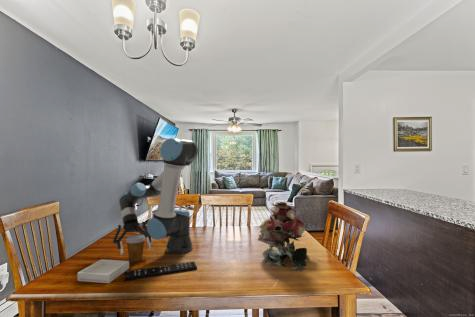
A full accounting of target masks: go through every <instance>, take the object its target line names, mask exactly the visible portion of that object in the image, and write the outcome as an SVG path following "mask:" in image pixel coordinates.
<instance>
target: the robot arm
mask: <svg viewBox="0 0 475 317" xmlns="http://www.w3.org/2000/svg"><path fill="white" fill-rule="evenodd" d="M198 153H199V148H198V145H197V144H196V143H195V141H193V140H191V139H183V138H178V137H177V138H176V137H175V138H174V137H173V138H172V137H171V138H170V137H169V138H167V139H166V140H164V141H163V142H162V143H161V145H160V150H159V154H160V155H161V158H162V163H163V164H164V166H165V167H164V170H163V171H162V172H161V173H160V174H158V176H157V177H156V178H154V180H153V181H152V182H150V184H146V185H145V184H144V183H142V182H136V183H135V184H133V185H132V186H131V187H130V189H129V190H128V192H124V193H122V194H120V196H119V197H118V199H119V202H118V203H119V208H120V212H121V218H122V224H123V225H121V224H118V225H117V231H116V233H115V235H114V238H113V241H112V244H116V246H117V250H120V255H121V256H123V255H124V247H123V241H122V240H123V239H124V238H125V237H126V235H127V234H128V233H135V232H136V233H139V234H141V235H144V236H145V240H146V241H145V242H146V246H147V249H148V251H149V250H151V248H152V246H151V244H152V239H153V240H156V241H158V240H163V239H165V238H168V239H167V242H166V243H167V244H166V247H165V251H166V252H167V253H169V254H171V255H172V254H174V255H176V254H177V255H178V254H180V255H181V254H184V253H188V252H190V251H192V250H193V247H194V246H193V242H192V239H191V235H190V231H191V229H190V228H191V227H190V222H191V220H190V217H191V216H190V211H189V210H187V209H176V208H175V206H176V202H177V196H178V192H179V191H178V190H179V185H180V179H181V175H182V171H183V170H184V169H185V167H188V166H190V165H191V164H192V163H193V162H194V161H195V160H196V158H198ZM158 196H159V200H158V203H157V204H158V205H157V209H156V210H154V212H153V216H152V217H150V218H149V219H148V220H147V222H146V223H147V224H146V223H145V221H142V222H139V221H138V216H137V211H136V206H135V204H136V203H137V202H138V201H139V200H142V199H148V198H153V197H154V198H155V197H158ZM122 230H124V231H123V232H122V234H121V233H120V232H121V231H122ZM119 234H121V235H120V236H119ZM151 238H152V239H151Z"/></svg>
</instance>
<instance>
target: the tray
mask: <svg viewBox="0 0 475 317" xmlns="http://www.w3.org/2000/svg"><path fill="white" fill-rule="evenodd" d="M129 269H130V261H129V260H118V259H117V260H115V259H99V260H98V261H96V262H93V263H92V264H91V265H89V266H87V267H85V268H84V269H82V270H80V271H78V272H77V282H88V283H89V282H90V283H102V284H109V283H111V282H113V281H114V280H115V279H117V278H118V277H119V276H121V275H122V274H123V273H125V272H127V271H128V270H129Z"/></svg>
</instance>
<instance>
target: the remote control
mask: <svg viewBox="0 0 475 317" xmlns="http://www.w3.org/2000/svg"><path fill="white" fill-rule="evenodd" d="M196 270H198V266H197V265H196V262H195V261H189V262H182V263H176V264H174V263H173V264H169V265H161V266H155V267H148V268H147V267H146V268H141V269H140V268H139V269H134V270H129V271H128V270H126V271H125V272H124V280H123V281H124V282H127V281H135V280H141V279H146V278H152V277H153V278H154V277H159V276H165V275H172V274H177V273H183V272H191V271H196Z"/></svg>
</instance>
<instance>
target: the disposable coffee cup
mask: <svg viewBox="0 0 475 317" xmlns="http://www.w3.org/2000/svg"><path fill="white" fill-rule="evenodd" d="M145 240H146V237H145V236H144V235H142V234H140V233H139V234H138V233H137V234H133V235H132V234H131V235H129V236H126V239H125V242H126V246H127V253H128V261H129V263H135V262H140V261H142V260H143V254H144V247H145V246H144V245H145Z"/></svg>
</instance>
